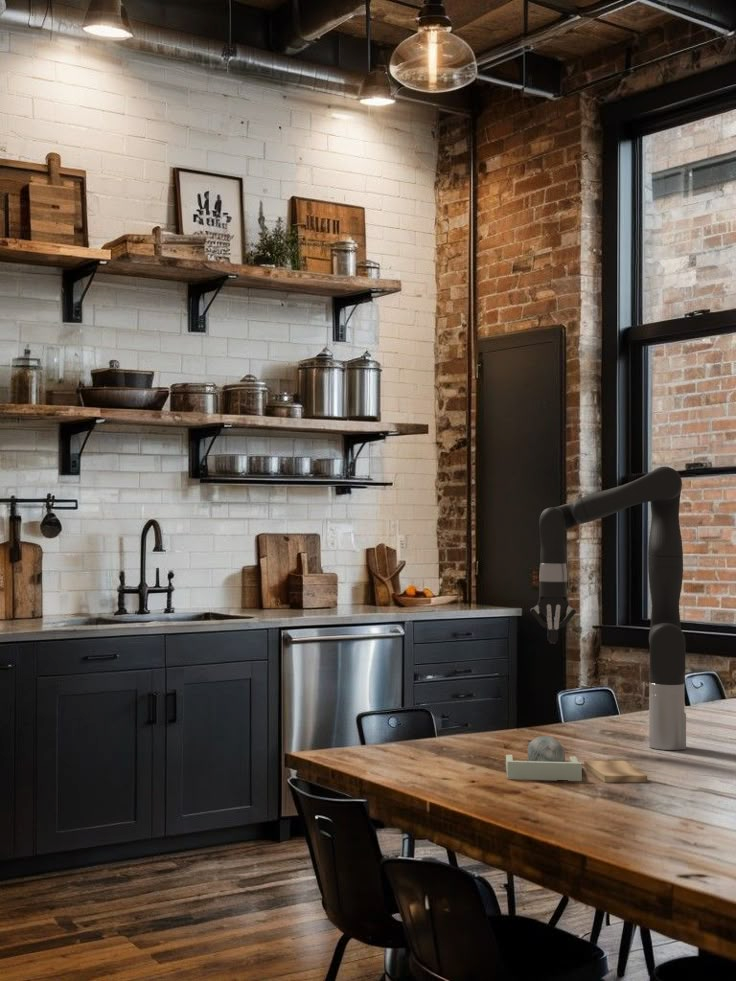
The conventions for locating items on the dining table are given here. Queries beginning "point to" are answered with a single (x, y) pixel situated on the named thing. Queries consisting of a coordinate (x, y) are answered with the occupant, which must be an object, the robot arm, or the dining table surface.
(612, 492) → the robot arm
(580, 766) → the cradle
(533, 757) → the grey stone
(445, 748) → the dining table surface
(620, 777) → the oak board
